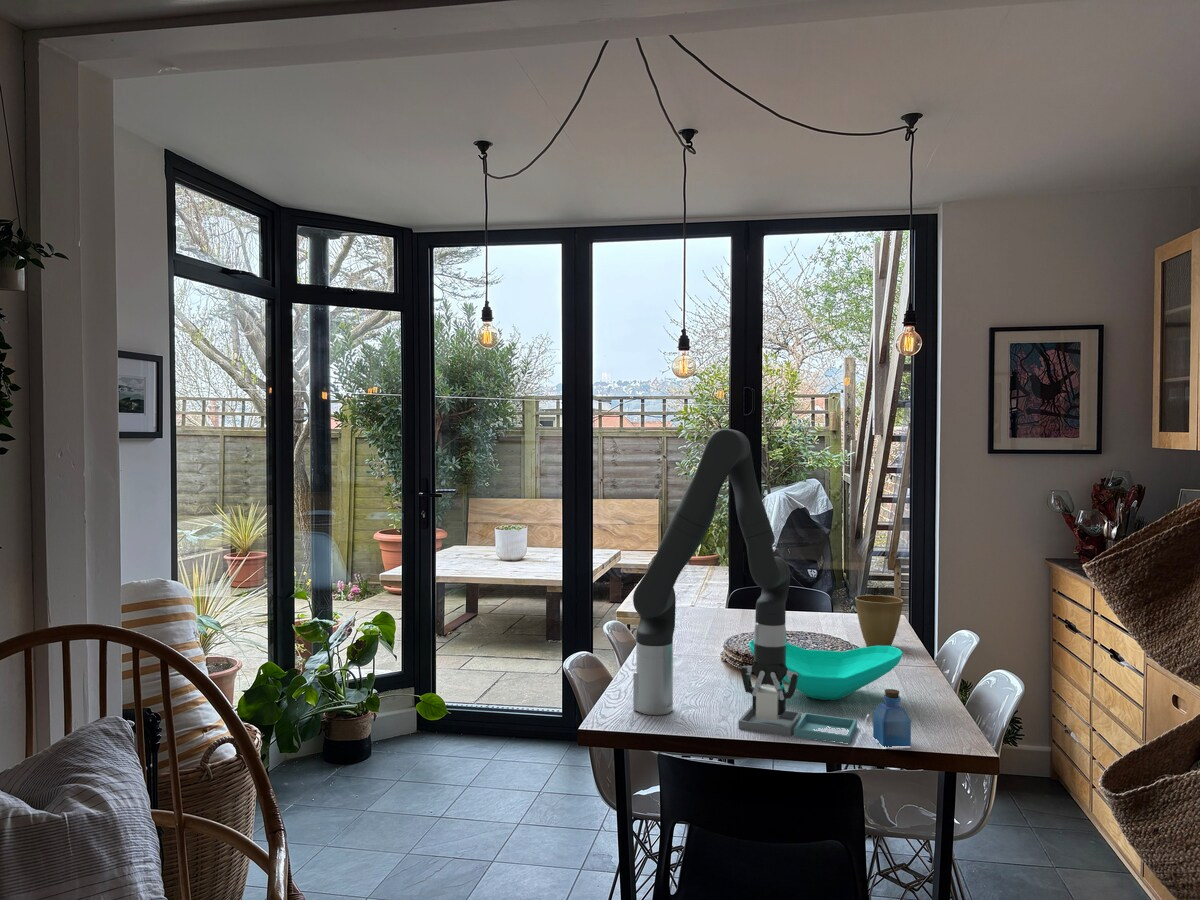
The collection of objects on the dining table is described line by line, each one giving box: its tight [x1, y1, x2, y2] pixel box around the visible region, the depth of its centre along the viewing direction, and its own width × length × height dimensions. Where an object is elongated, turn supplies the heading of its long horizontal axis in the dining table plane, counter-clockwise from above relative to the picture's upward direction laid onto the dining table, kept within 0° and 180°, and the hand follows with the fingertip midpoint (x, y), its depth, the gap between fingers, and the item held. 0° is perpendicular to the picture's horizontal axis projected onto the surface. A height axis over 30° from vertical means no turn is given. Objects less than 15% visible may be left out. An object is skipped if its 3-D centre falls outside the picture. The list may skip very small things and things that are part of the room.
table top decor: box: [748, 638, 904, 701], centre depth 226 cm, size 40×28×13 cm
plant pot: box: [854, 594, 904, 647], centre depth 278 cm, size 15×15×16 cm
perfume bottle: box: [872, 688, 912, 747], centre depth 191 cm, size 6×6×12 cm
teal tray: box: [793, 712, 858, 745], centre depth 197 cm, size 12×12×2 cm
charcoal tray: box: [737, 705, 802, 737], centre depth 203 cm, size 12×12×2 cm
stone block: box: [756, 686, 781, 720], centre depth 203 cm, size 5×5×6 cm
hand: (768, 712), depth 203 cm, fingers closed on stone block, 5 cm apart
